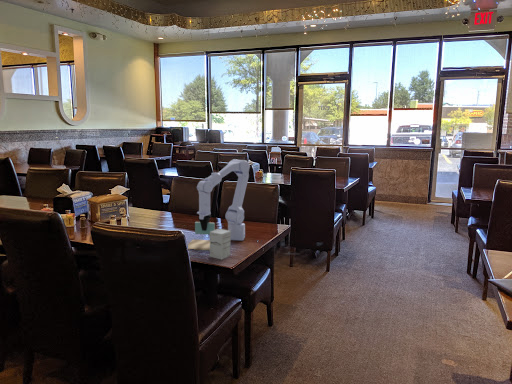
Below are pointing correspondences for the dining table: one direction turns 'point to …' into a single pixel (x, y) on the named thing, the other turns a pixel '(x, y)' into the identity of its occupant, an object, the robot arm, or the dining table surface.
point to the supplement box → (220, 243)
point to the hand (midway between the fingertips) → (204, 229)
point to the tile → (199, 230)
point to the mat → (199, 245)
